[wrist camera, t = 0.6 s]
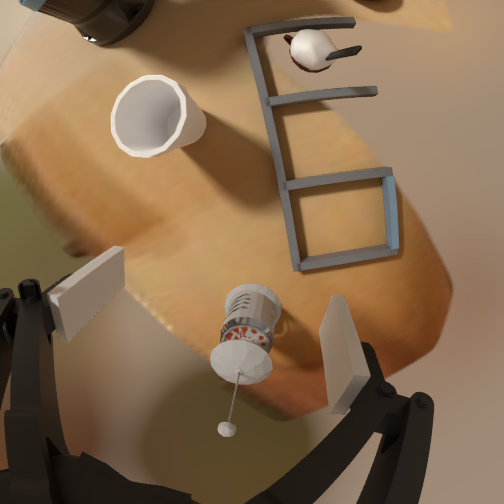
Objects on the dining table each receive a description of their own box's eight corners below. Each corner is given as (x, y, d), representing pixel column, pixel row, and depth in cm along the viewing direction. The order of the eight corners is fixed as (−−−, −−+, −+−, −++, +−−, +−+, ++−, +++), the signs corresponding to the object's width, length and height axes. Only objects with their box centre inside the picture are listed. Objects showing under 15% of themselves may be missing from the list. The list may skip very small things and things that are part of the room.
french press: (293, 301, 45) (294, 431, 21) (257, 346, 49) (237, 466, 25) (241, 272, 44) (198, 393, 21) (210, 322, 48) (162, 437, 25)
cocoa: (277, 47, 31) (268, 9, 20) (313, 31, 30) (316, -10, 18) (313, 96, 33) (319, 70, 22) (349, 78, 31) (368, 49, 20)
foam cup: (222, 97, 35) (194, 74, 23) (212, 157, 38) (180, 160, 26) (162, 95, 35) (117, 77, 23) (154, 151, 39) (106, 154, 26)
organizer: (244, 33, 31) (241, 27, 28) (351, 22, 28) (354, 15, 25) (293, 266, 42) (293, 273, 40) (393, 250, 40) (399, 255, 37)
